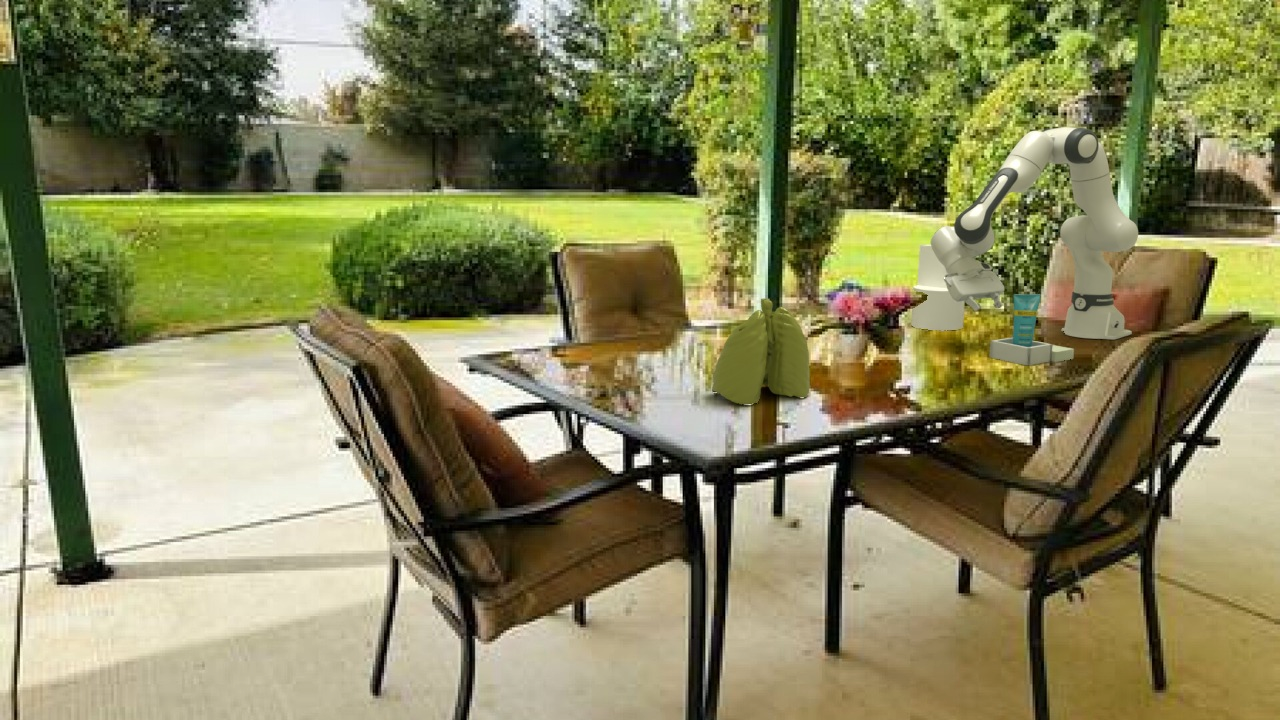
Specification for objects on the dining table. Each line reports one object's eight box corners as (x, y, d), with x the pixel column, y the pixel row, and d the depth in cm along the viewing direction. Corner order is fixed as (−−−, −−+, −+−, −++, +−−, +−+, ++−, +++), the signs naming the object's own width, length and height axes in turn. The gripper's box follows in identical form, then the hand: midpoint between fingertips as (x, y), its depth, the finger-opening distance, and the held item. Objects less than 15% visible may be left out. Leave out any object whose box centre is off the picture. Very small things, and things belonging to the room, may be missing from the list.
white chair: (929, 320, 329) (933, 243, 323) (972, 327, 316) (978, 246, 310) (900, 326, 318) (905, 246, 312) (944, 333, 305) (950, 250, 299)
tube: (1011, 360, 262) (1017, 295, 258) (1005, 357, 267) (1010, 292, 262) (1037, 361, 262) (1043, 295, 258) (1030, 357, 267) (1036, 292, 262)
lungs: (784, 383, 238) (787, 292, 233) (820, 397, 224) (823, 300, 219) (701, 394, 227) (701, 299, 222) (732, 409, 214) (734, 308, 209)
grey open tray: (1025, 349, 277) (1027, 333, 276) (1073, 359, 264) (1074, 342, 263) (985, 356, 268) (986, 340, 267) (1032, 366, 255) (1033, 349, 254)
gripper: (947, 268, 270) (972, 304, 264) (993, 264, 280) (1018, 299, 274) (935, 281, 275) (958, 317, 269) (980, 276, 285) (1004, 311, 279)
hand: (989, 308), depth 271 cm, fingers open, 8 cm apart
